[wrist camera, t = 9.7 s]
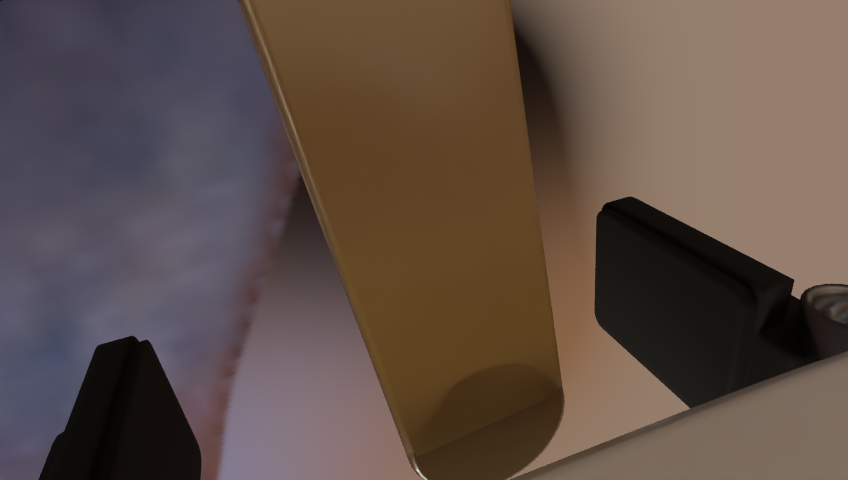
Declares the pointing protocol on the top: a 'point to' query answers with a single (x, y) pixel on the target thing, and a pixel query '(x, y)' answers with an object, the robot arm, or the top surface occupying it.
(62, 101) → the top surface
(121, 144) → the top surface
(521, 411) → the door
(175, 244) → the top surface
